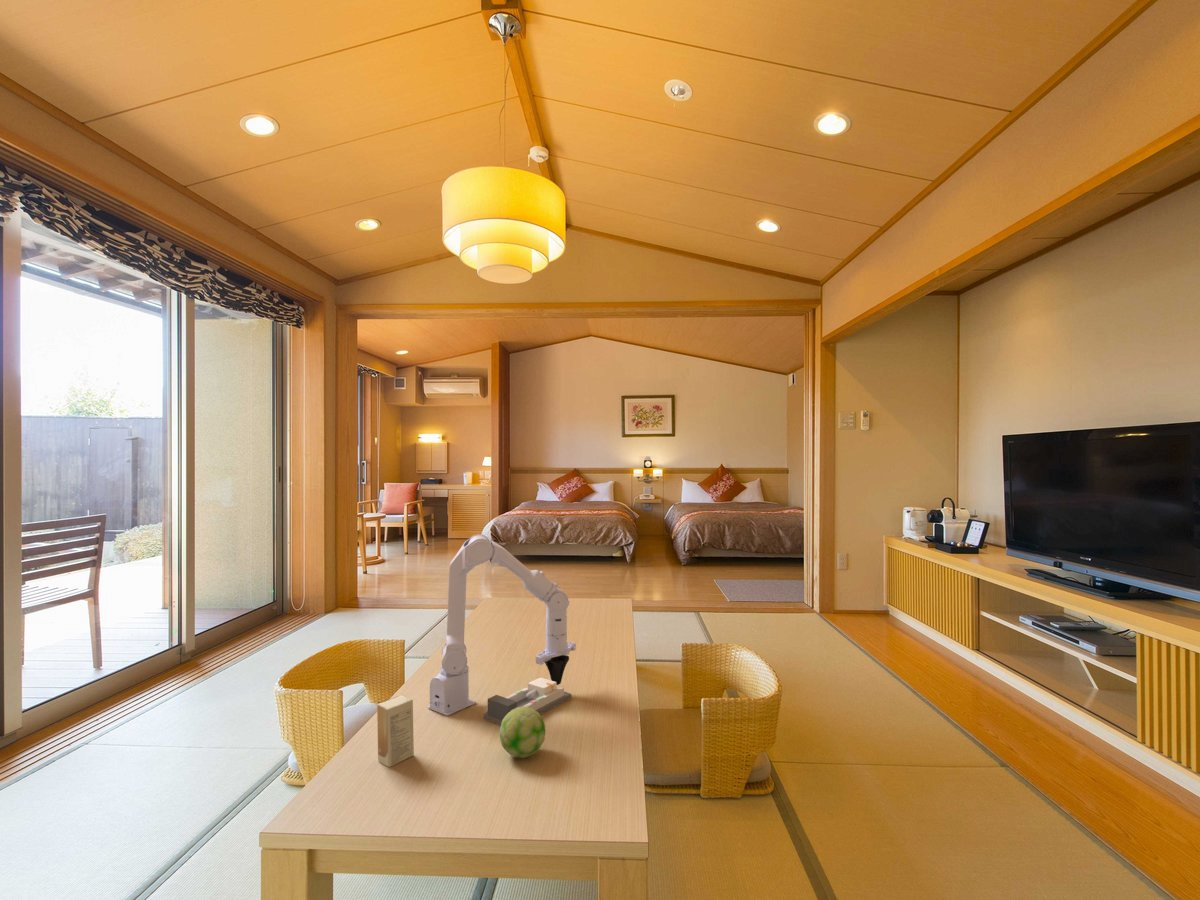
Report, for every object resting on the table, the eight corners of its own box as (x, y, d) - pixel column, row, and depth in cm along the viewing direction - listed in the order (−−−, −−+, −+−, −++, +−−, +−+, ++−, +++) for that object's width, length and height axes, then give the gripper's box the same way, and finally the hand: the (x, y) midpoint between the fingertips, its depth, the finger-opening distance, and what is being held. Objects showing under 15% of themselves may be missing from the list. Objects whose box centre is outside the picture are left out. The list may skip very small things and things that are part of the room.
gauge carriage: (540, 707, 146) (540, 691, 146) (520, 700, 150) (520, 685, 150) (560, 697, 152) (560, 682, 152) (540, 690, 156) (540, 676, 156)
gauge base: (512, 729, 136) (512, 707, 137) (483, 718, 142) (483, 697, 142) (571, 698, 154) (571, 678, 154) (543, 689, 160) (543, 670, 160)
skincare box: (403, 749, 127) (403, 693, 128) (414, 756, 125) (414, 698, 125) (376, 761, 122) (376, 703, 123) (387, 768, 120) (387, 709, 120)
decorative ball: (502, 770, 119) (502, 721, 119) (497, 747, 128) (497, 701, 129) (549, 763, 121) (549, 715, 122) (541, 741, 131) (541, 696, 131)
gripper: (549, 642, 149) (549, 695, 149) (584, 629, 161) (584, 678, 161) (529, 637, 153) (529, 689, 153) (564, 624, 165) (564, 672, 165)
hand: (556, 683), depth 157 cm, fingers closed
